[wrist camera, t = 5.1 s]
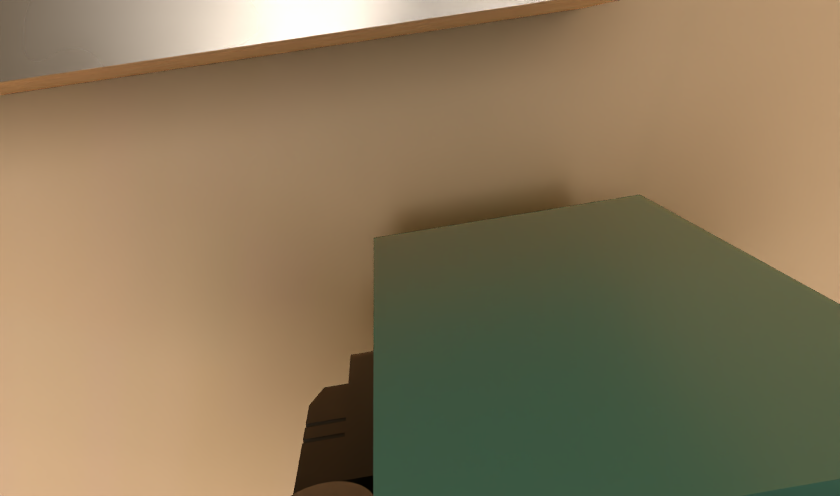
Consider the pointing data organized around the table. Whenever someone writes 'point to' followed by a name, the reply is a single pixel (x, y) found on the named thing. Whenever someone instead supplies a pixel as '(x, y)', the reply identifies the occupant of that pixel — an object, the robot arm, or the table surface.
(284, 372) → the table surface
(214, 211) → the table surface
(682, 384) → the block
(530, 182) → the table surface
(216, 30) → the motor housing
